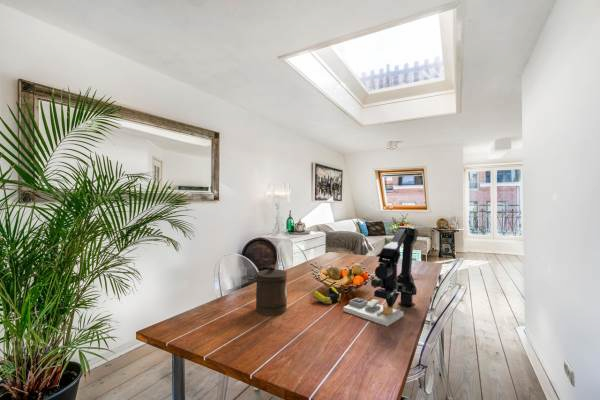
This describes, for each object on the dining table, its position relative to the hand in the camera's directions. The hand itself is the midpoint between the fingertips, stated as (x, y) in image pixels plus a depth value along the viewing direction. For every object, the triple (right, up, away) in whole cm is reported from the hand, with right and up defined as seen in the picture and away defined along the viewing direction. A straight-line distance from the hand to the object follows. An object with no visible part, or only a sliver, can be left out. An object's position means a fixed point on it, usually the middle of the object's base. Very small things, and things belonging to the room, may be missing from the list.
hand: (390, 309), depth 130 cm
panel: (-7, -4, +5) cm, 9 cm away
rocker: (-7, +1, +5) cm, 8 cm away
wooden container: (-55, -4, +9) cm, 56 cm away
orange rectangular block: (-1, -2, -1) cm, 3 cm away
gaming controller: (-26, -4, +22) cm, 34 cm away
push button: (-12, -2, +10) cm, 16 cm away
